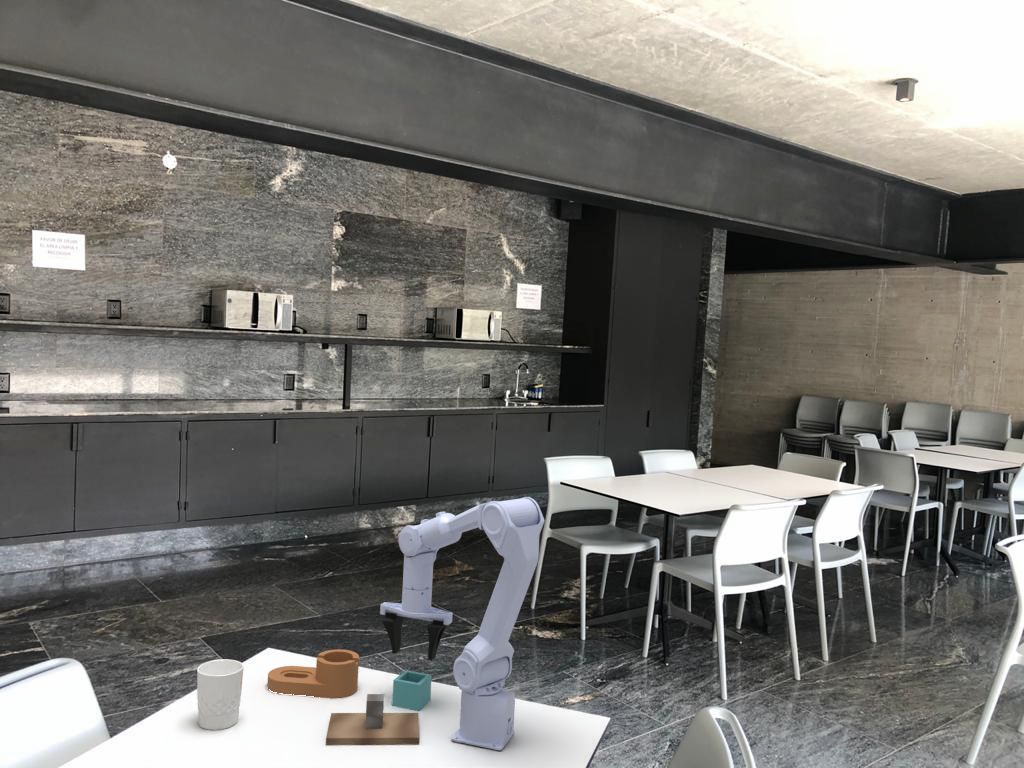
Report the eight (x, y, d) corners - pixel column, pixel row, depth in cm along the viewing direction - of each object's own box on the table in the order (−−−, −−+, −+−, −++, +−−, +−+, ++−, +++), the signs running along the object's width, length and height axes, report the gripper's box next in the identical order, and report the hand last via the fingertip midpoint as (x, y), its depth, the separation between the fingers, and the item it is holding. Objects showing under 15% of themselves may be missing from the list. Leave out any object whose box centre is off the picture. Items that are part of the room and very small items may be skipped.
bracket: (361, 684, 168) (363, 651, 168) (351, 701, 160) (353, 666, 160) (275, 677, 169) (277, 644, 169) (261, 693, 161) (262, 659, 161)
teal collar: (430, 699, 162) (431, 674, 162) (418, 710, 157) (420, 685, 157) (404, 694, 164) (405, 670, 164) (392, 705, 158) (393, 680, 158)
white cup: (222, 735, 143) (224, 678, 142) (185, 726, 145) (187, 670, 145) (250, 717, 150) (252, 663, 150) (214, 709, 153) (217, 656, 152)
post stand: (418, 719, 153) (419, 686, 153) (418, 744, 143) (420, 709, 143) (330, 719, 151) (332, 686, 151) (325, 745, 141) (327, 709, 141)
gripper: (459, 586, 161) (455, 654, 162) (392, 576, 166) (389, 642, 166) (446, 595, 154) (442, 666, 155) (376, 585, 159) (373, 654, 159)
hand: (413, 655), depth 160 cm, fingers open, 7 cm apart
